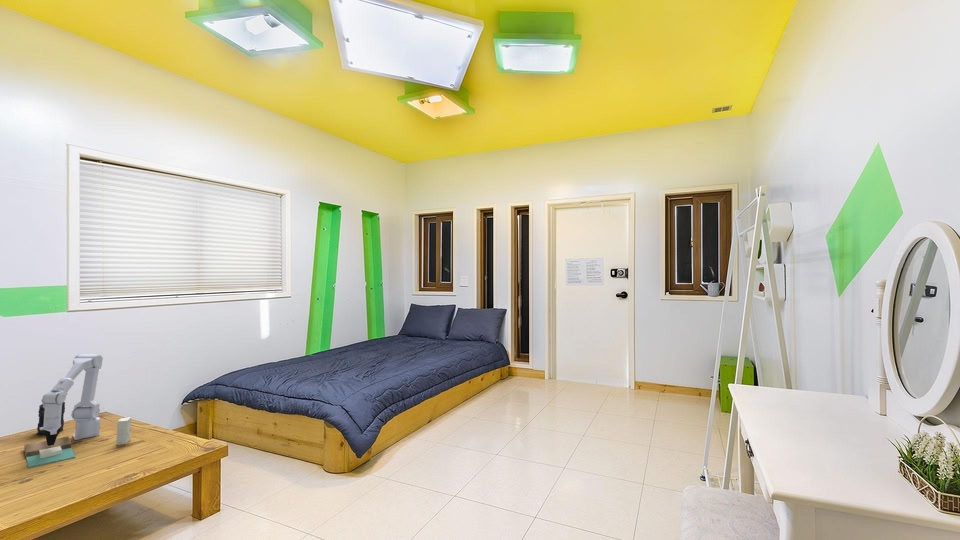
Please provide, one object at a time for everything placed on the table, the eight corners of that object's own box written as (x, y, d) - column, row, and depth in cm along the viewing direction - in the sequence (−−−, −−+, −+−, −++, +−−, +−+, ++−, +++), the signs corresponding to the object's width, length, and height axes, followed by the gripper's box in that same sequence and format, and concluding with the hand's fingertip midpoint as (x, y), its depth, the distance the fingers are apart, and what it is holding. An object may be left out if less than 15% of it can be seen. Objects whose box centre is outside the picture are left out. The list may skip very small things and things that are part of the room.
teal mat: (71, 448, 201) (71, 447, 201) (75, 457, 193) (75, 456, 193) (26, 458, 190) (26, 456, 190) (28, 468, 181) (28, 466, 181)
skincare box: (126, 444, 210) (128, 420, 210) (115, 445, 208) (117, 421, 208) (130, 439, 216) (132, 416, 216) (119, 440, 214) (121, 417, 214)
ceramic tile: (59, 450, 198) (60, 445, 198) (61, 454, 194) (61, 449, 195) (38, 454, 193) (39, 450, 193) (40, 458, 189) (40, 454, 189)
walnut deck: (67, 441, 209) (68, 436, 209) (71, 448, 202) (71, 443, 202) (24, 449, 197) (24, 444, 198) (26, 457, 190) (26, 452, 190)
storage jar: (53, 427, 224) (55, 400, 225) (68, 429, 223) (70, 402, 223) (31, 434, 215) (33, 406, 215) (46, 436, 213) (49, 408, 213)
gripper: (38, 414, 196) (36, 442, 196) (42, 423, 187) (39, 452, 187) (59, 411, 201) (57, 438, 201) (63, 419, 192) (61, 447, 192)
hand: (50, 445), depth 194 cm, fingers closed
